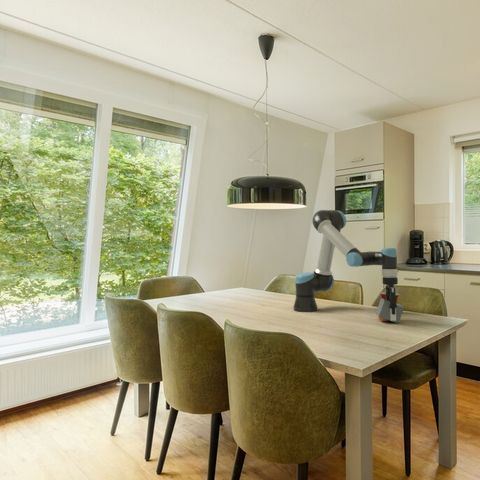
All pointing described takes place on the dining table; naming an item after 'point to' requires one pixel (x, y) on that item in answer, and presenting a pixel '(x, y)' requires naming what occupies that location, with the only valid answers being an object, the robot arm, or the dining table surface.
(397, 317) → the trap cup
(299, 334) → the dining table surface
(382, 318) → the ball
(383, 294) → the plastic cup
